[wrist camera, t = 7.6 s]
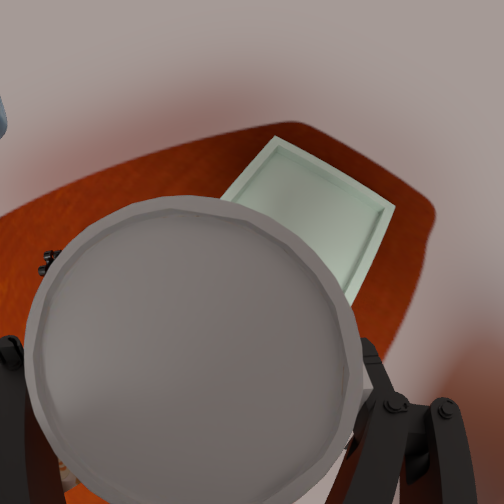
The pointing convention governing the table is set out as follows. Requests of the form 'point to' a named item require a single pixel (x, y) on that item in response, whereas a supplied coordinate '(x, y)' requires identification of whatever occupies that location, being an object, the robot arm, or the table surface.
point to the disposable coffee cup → (193, 357)
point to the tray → (316, 208)
